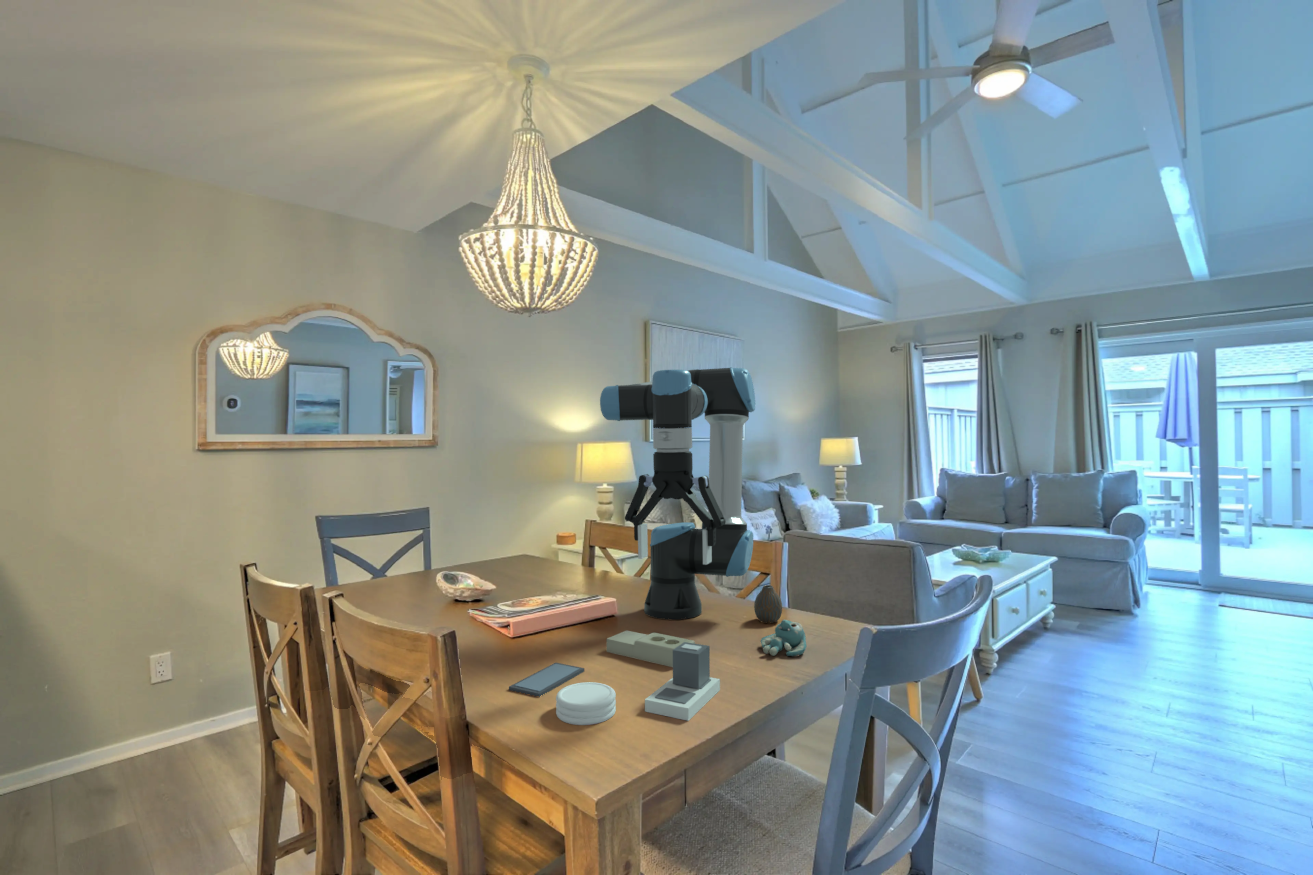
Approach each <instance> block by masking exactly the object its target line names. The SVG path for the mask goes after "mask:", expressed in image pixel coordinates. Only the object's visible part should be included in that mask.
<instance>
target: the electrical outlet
mask: <svg viewBox="0 0 1313 875" xmlns="http://www.w3.org/2000/svg"><path fill="white" fill-rule="evenodd" d="M684 642H688V643H694V644H696V642H695V640H692V639H687V638H683V637H678V636H673V635H668V634H664V633H658V632H651V633H649V634H645V633H642V632H641V633H639V632H636V631H630V630H624V631H622V632H619V633H616V634H615V635H612V636H610V637H607V638H606V653H610V654H615V655H619V656H622V657H628V658H632V659H636V660H639V661H645V662H649V663H652V664H657V665H661V666H666V667H669V668H673V649H675V648H676V647H678V646H679V645H681V644H682V643H684Z"/></svg>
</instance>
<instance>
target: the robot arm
mask: <svg viewBox="0 0 1313 875" xmlns="http://www.w3.org/2000/svg"><path fill="white" fill-rule="evenodd" d="M755 394H756V393H755V388H754V381H753V379H752V376H751V373H750V371H749V370H748V369H747V368H744V367H723V368H720V367H719V368H707V369H706V368H705V369H704V368H703V369H700V368H699V369H698V368H697V369H689V370H687V369H662V370H656V371H655V372H654V373H653V375H652V380H651V381H646V382H640V383H639V382H638V383H634V384H633V383H632V384H626V385H625V384H623V385H622V384H621V385H619V384H615V385H607V386H605V387H604V388H603V389H602V391H601V393H600V397H599V398H600V399H599V405H600V412H601V415H602V417H603V418H604V419H606V420H607V421H617V422H622V421H645V420H646V421H648V420H649V421H652V433H653V434H652V438H653V439H652V440H653V442H652V444H653V445H652V446H653V449H654V450H656V451H655V452H654V453H653V455H652V457H653V475H649V474H648V473H646V474H641V475H639V476H638V485H637V487H636V491H635V493H634V495H633V497H632V500H631V501H630V503H629V506H628V508H627V512H626V514H625V516H624V519H625V521H626V522H630V523H632V524H633V531H634V532H633V533H634V534H633V537H634V541H637V548H638V549H637V551H638V552H637V553H638V554H637V557H638V559H644V558H647V557H648V556H649V549H648V548H649V547H650V584H649V589H648V591H647V595H646V598H645V601H644V603H643V604H644V610H643V612H644V614H645V615H647V616H648V617H650V618H651V617H652V618H655V619H659V620H660V619H661V620H673V621H674V620H687V619H691V618H695V617H698V616H700V615H702V612H703V610H702V609H703V607H702V606H703V605H702V601H701V598H700V594H699V591H698V589H697V585H696V582H695V581H696V580H695V579H696V577H695V576H696V575H706V576H707V575H708V576H720V577H721V576H725V577H727V578H729V577H741V576H744V575H745V574H746V573H747V572H748V570H749V567H750V565H751V561H752V556H753V549H754V533H753V531H752V530H749V529H748V522H746V521H745V519H744V518H743V516H742V491H743V490H742V489H743V487H742V485H743V437H744V435H743V434H744V433H743V432H744V431H743V428H744V425H745V423H747V421H748V420H749V419H750V413H754V412H755V410H756V396H755ZM703 414H704V420H705V421H706V422H707V423H708V424H709V452H708V453H709V455H708V456H709V457H708V458H709V462H708V463H709V466H708V468H709V469H708V476H707V475H704V476H703V475H702V476H698V477H694V474H693V453H692V451H690V449H692V448H693V432H692V431H693V428H692V427H693V426H692V424H693V423H692V420H695V419H698V418H699V417H701V416H703ZM652 484H653V486H654V487H655V488H656V489H655V490H654V491H653V492H652V494H651V495H650V498H649V499H648V500H647V502H646V503H644V505H643V506H642V503H643V502H644V499H645V497H646V495H647V493H648V490H649V488H650V486H651V485H652ZM694 485H695V486H696V488H697V489H699V493H700V495H701V497H702V499H703V502H704V504H705V506H706V507H707V509H706V508H705V506H704V505H703V504H702V503H701V501H700V500H699V499H698V497H697V495H696V493H695V492H694V491H693V490H692V488H693V486H694ZM663 499H664V500H669V499H673V500H681V499H682V500H683V501H684V502H685V503H687V504H688V506H689V507H690V508H691V510H692V511H693V512H694V514H695V515H696V516H697V518H698V519H699V520H700V522H701V528H696V525H695V523H694V522H692V521H691V522H687V521H686V522H685V521H684V522H675V523H670V524H669V523H668V524H663V525H659V526H656V527H654V528H653V529H652V530H651V534H650V544H649V542H648V541H649V540H648V523H645V520H646V519H647V518H648V516H649V515H650V514H651V513H652V512H653V510H654V509H655V508H656V506H657V505H658V504H659V503H660V501H661V500H663ZM641 506H642V508H641ZM639 510H640V511H639ZM648 544H649V546H648Z"/></svg>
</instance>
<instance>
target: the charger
mask: <svg viewBox="0 0 1313 875" xmlns="http://www.w3.org/2000/svg"><path fill="white" fill-rule="evenodd" d="M710 657H711V656H710V645H708V644H707V645H706V644H699V643H695V644H694V643H688V642H684V643H682V644H681V645H679V646H678V647H676V648H675V649H673V667H672V678H673V684H676V685H681V686H687V687H692V688H697V689H699V688H700V687H701V686H702V685H704V684H705V683H706V682H707V681H708V680H709V679H710V677H711V676H710V672H711V670H710V664H711V663H710V661H711V660H710Z"/></svg>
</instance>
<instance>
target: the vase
mask: <svg viewBox="0 0 1313 875" xmlns="http://www.w3.org/2000/svg"><path fill="white" fill-rule="evenodd" d="M753 606H754V607H753V608H754V614H755V617H756V618H757V619H758V620H759V621H760V623H763V622H764V623H763V624H775V623H777V622H778V621H779V620H780V618H781V616H782V614H783V603H782V599H781V597H780V595H779V594H778V593H777V591H776V590H775V588H774V586H773V585H771V584H770V585H769V584H767V585H763V586H762V588H761V590H760V591H759V592H758V593H757V595H756V597H755V600H754V605H753Z"/></svg>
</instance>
